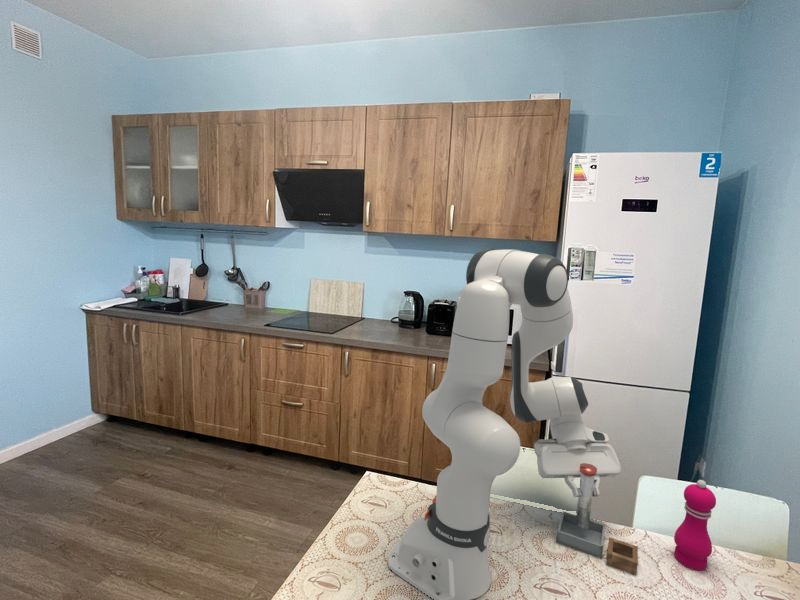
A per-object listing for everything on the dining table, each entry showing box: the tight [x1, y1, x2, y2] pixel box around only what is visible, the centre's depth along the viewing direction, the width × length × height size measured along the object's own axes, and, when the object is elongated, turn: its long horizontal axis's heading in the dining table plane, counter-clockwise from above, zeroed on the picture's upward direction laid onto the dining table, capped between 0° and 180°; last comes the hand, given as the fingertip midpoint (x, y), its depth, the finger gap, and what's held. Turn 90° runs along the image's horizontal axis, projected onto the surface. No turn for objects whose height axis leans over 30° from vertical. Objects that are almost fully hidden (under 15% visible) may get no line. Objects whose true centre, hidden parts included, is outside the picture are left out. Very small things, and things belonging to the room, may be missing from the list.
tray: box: [556, 510, 606, 560], centre depth 104 cm, size 10×9×3 cm
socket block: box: [605, 536, 639, 576], centre depth 97 cm, size 6×6×3 cm
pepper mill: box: [673, 479, 717, 571], centre depth 97 cm, size 7×7×20 cm
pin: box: [576, 463, 597, 529], centre depth 103 cm, size 4×4×15 cm
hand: (586, 496), depth 102 cm, fingers closed on pin, 3 cm apart
